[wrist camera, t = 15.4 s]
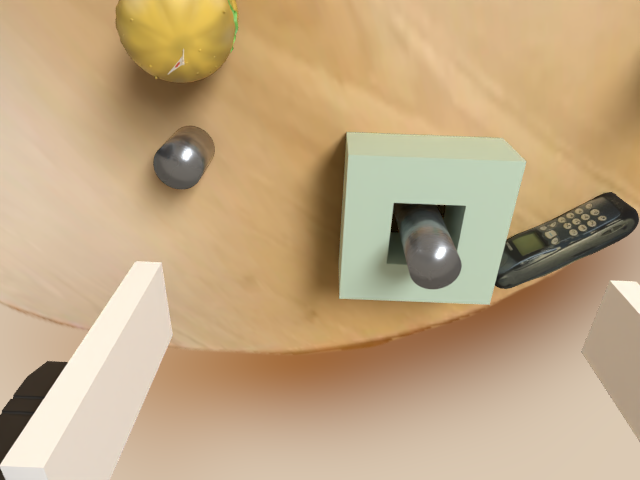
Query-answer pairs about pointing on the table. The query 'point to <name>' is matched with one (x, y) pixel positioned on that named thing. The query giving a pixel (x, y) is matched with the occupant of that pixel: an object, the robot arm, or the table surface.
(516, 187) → the guide block
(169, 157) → the short pin
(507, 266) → the mobile phone
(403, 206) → the long pin
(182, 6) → the hamburger
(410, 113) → the table surface
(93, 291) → the table surface
